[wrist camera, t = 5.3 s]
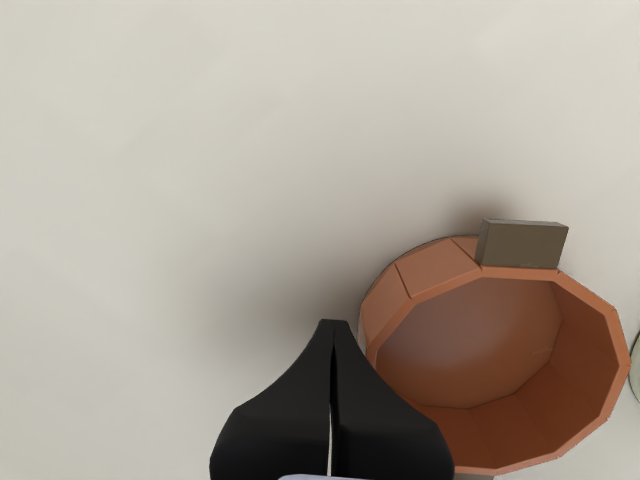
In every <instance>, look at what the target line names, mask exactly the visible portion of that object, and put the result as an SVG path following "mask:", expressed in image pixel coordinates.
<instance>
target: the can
mask: <svg viewBox="0 0 640 480" xmlns="http://www.w3.org/2000/svg"><path fill="white" fill-rule="evenodd" d="M631 362H632V364H630V365H631V369H630V371H629V374H630V383H631V386H632V389H633V392H634V394H635V396H636V398H637V400H638V401H639V402H640V335H639V337H638V339H637V342H636V344H635V346H634V349H633V352H632V355H631Z"/></svg>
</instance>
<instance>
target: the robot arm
mask: <svg viewBox="0 0 640 480" xmlns="http://www.w3.org/2000/svg"><path fill="white" fill-rule="evenodd" d="M330 413H331V429H332V453H331V477H330V476H327V469H328V454H329V434H330ZM209 469H210V479H211V480H453V479H454V475H455V465H454V462H453V458H452V455H451V452H450V449H449V447H448V445H447V443H446V441H445V439H444V437H443V435H442V433H441V431H440V429H439V427H438V425H437V423H435V422H434V421H433V420H431V419H430V418H428V417H427V416H425V415H424V414H422V413H421V412H419V411H418V410H416V409H415V408H414V407H412V406H411V405H410V404H409V403H407V402H406V401H405V400H404V399H402V398H401V397H400V396H399V395H398V394H397V393H396V392H395V391H394V390H393V389H392V388H391V387H390V386H388V384H387V383H386V382H385V381H384V380H383V379H382V378H381V377H380V375H379V374H378V373H377V372H376V371H375V369H374V368H373V367H372V365H371V364H370V363H369V361H368V360H367V358H366V357H365V355H364V354H363V352H362V350H361V349H360V347H359V345H358V344H357V342H356V340H355V338H354V336H353V334H352V332H351V330H350V327H349V324H348V322H347V321H345V320H330V319H321V320H320V321H319V324H318V327H317V329H316V331H315V333H314V335H313V337H312V338H311V340H310V341H309V343H308V345H307V346H306V348H305V349H304V350H303V352H302V353H301V354H300V356H299V357H298V358H297V360H296V361H295V362H294V363H293V364H292V365H291V366H290V368H289V369H288V370H287V371H286V372H285V373H284V374H283V375H282V376H281V377H279V378H278V379H277V380H276V381H275V382H274V383H273V384H272V385H270V386H269V387H268V388H266V389H265V390H264V391H262V392H261V393H260V394H258V395H257V396H255V397H254V398H252V399H250V400H249V401H247V402H245V403H244V404H242V405H240V406H238V407H236V408H235V409H234V410H233V412H232V413H231V415H230V416H229V418H228V420H227V421H226V423H225V425H224V427H223V429H222V431H221V432H220V434H219V437H218V439H217V441H216V444H215V447H214V449H213V452H212V454H211V457H210V465H209Z"/></svg>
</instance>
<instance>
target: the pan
mask: <svg viewBox="0 0 640 480" xmlns="http://www.w3.org/2000/svg"><path fill="white" fill-rule="evenodd" d="M568 229H569V227H567V226H565V225H562V224H560V223H557V222H541V221H521V220H500V219H482V223H481V228H480V232H479V236H477V235H462V236H454V237H446V238H443V239H439V240H435V241H431V242H429V243H426V244H423V245H421V246H418V247H416V248H414V249H413V250H411V251H409V252H407V253H405V254H404V255H402V256H401V257H399V258H398V259H396V260H395V261H394V262H393V263H391V264H390V265H389V266H388V267H387V268H386V269H385V270H384V271H383V272H382V273H381V274H380V275H379V276H378V278H377V279H376V280H375V281H374V283H373V284H372V286H371V287H370V289H369V290H368V292H367V294H366V296H365V299H364V301H363V303H362V306H361V308H360V314H359V320H358V341H357V344H358V345H359V347H360V349H361V350H362V352H363V354H364V355H365V357H366V358H367V360H368V361H369V363H370V364H371V365H372V367H373V368H374V369H375V371H376V372H377V373H378V374H379V375H380V377H381V378H382V379H383V380H384V381H385V382H386V383H387V384H388V386H390V387H391V388H392V389H393V390H394V391H395V392H396V393H397V394H398V395H399V396H400V397H401V398H402V399H404V400H405V401H406V402H407V403H409V404H410V405H411V406H412V407H414V408H415V409H416V410H418V411H419V412H421V413H422V414H424V415H425V416H427V417H428V418H430V419H431V420H433V421H434V422H435V423H437V425H438V427H439V429H440V431H441V433H442V435H443V437H444V439H445V441H446V443H447V445H448V447H449V449H450V452H451V455H452V458H453V462H454V465H455V475H454V479H453V480H493V478H494V476H496V475H497V474H498V475H503V474H506V473H510V472H513V471H516V470H520V469H523V468H527V467H530V466H534V465H537V464H541V463H544V462H548V461H551V460H555V459H557V458H558V457H561V456H563V455H564V454H565V453H566V452H568V451H569V450H570V449H571V448H573V447H574V446H575V445H577V444H578V443H579V442H580V441H582V440H583V439H584V438H585V437H587V436H588V435H589V434H591V433H592V432H593V431H594V430H596V429H597V428H598V427H599V426H601V425H602V424H603V423H605V422H606V421H607V420H608V419H607V418H610V415H611V413H612V411H613V408H614V406H615V404H616V401H617V399H618V397H619V394H620V392H621V390H622V387H623V385H624V383H625V380H626V378H627V376H628V373H629V371H630V369H631V365H630V364H632V362H631V359H630V355H629V352H628V348H627V345H626V341H625V338H624V334H623V331H622V327H621V324H620V320H619V317H618V313H617V310H616V309H615V307H614V306H612V305H611V304H609V303H608V302H606V301H605V300H603V299H602V298H600V297H599V296H597V295H596V294H594V293H593V292H592V291H590V290H589V289H587V288H586V287H584V286H583V285H581V284H580V283H578V282H577V281H575V280H574V279H572V278H571V277H569V276H568V275H566V274H565V273H563V272H562V271H560V270H559V269H557V266H558V263H559V259H560V256H561V253H562V249H563V246H564V243H565V239H566V236H567V233H568ZM557 456H558V457H557Z"/></svg>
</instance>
